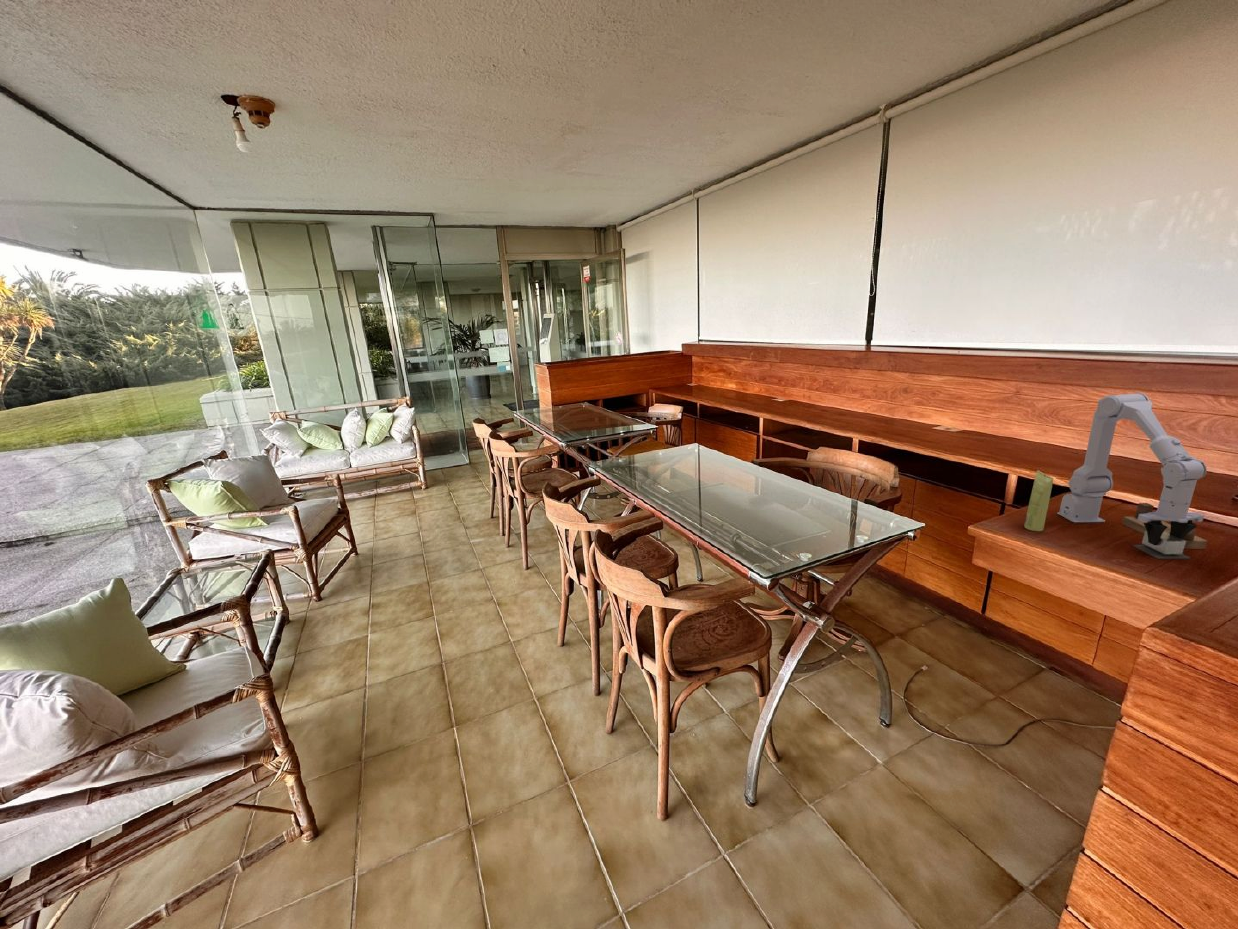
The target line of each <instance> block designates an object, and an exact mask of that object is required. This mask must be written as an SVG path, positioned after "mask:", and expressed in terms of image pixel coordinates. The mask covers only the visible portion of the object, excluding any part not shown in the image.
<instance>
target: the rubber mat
mask: <svg viewBox="0 0 1238 929" xmlns="http://www.w3.org/2000/svg"><path fill="white" fill-rule="evenodd" d="M1132 547H1134V548H1136V549H1137V550H1139V551H1141V552H1143V553H1145V554H1147V555H1149V556H1152V558H1154V559H1156V560H1190V559H1191V557H1190V556H1188V555H1185V554H1184V553H1182V554H1163V553H1161V552H1159V551H1157V550H1155V549H1153V548H1151V547H1149V546H1147V545H1145V544H1133V545H1132Z"/></svg>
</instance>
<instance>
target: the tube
mask: <svg viewBox="0 0 1238 929" xmlns="http://www.w3.org/2000/svg"><path fill="white" fill-rule="evenodd" d="M1053 484H1054V477H1052V476H1050V475H1048V474H1046V473H1043V472H1042V471H1040V470H1036V473H1035V476H1034V481H1033V486H1032V489H1031V494H1030V498H1029V502H1028V507H1027V512H1026V517H1025V519H1024V520H1025V521H1024V528H1025V529H1027V530H1029V531H1031V532H1043V531H1044V527H1045V523H1046V519H1047V514H1048V513H1047V512H1048V510H1049V503H1050V498H1051V495H1052V494H1051V493H1052V489H1053Z"/></svg>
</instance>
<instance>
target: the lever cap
mask: <svg viewBox="0 0 1238 929" xmlns="http://www.w3.org/2000/svg"><path fill="white" fill-rule="evenodd" d="M1185 543H1186V541H1184V540H1182V539H1179V538H1177V537H1175V536H1173V535H1171V534H1168V533H1166V532H1163V533H1162V535H1161V538H1160V541H1159V543H1158V545H1153V544H1151V543H1149V542H1148V534H1147V531H1145V534H1143V538H1142V542H1141V544H1142V545H1147V546H1149V547H1151V548H1153V549H1155V550H1157V551H1159V552H1161V553H1163V554H1184V553H1183V552H1184V550H1185V549H1184V546H1185Z"/></svg>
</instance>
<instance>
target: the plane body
mask: <svg viewBox="0 0 1238 929" xmlns="http://www.w3.org/2000/svg"><path fill="white" fill-rule="evenodd" d="M1154 508H1155V507H1154V505H1153V504H1150V503H1148V502H1138V503H1137V507H1136V512H1135V514H1134V515H1135V516H1123V517H1122V520H1121V524H1122V525H1124V526H1126V527H1127V528H1130V529H1132V530H1134V531H1136V532H1138V533H1140V534H1142V535H1144V534H1145V531H1147V530H1146V528H1145V525H1144V523H1143V522H1141V521H1139V520H1138V517H1139V514H1146V513H1151V512H1154V511H1153V510H1154ZM1161 523H1163V525H1165V526H1167V528H1166V529H1165V531H1164V532H1166V533H1168V534H1170V531H1171V524H1169V523H1167V521H1162V522H1161ZM1196 533H1197V530H1196V529H1193V530H1191V531H1190V532H1189V533H1188V534H1187V535H1186V536H1185V537H1184V538H1183V539H1182V540H1184V541H1186V543H1185V546H1184V550H1186V549H1187V550H1190V549H1191V550H1197V549H1198V550H1199V549H1201V550H1205V549H1206V547H1207V544H1208V540H1207V539H1204V538H1201V537H1200V536H1197V535H1196Z"/></svg>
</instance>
